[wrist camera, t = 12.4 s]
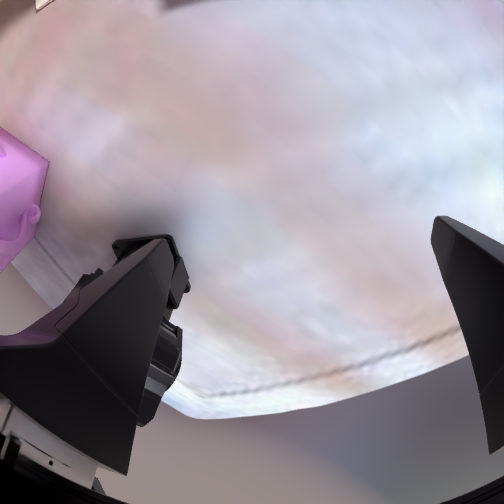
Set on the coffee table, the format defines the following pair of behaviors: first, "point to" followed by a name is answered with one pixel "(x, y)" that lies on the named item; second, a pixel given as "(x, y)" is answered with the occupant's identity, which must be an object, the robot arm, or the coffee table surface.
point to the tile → (42, 3)
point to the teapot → (18, 195)
